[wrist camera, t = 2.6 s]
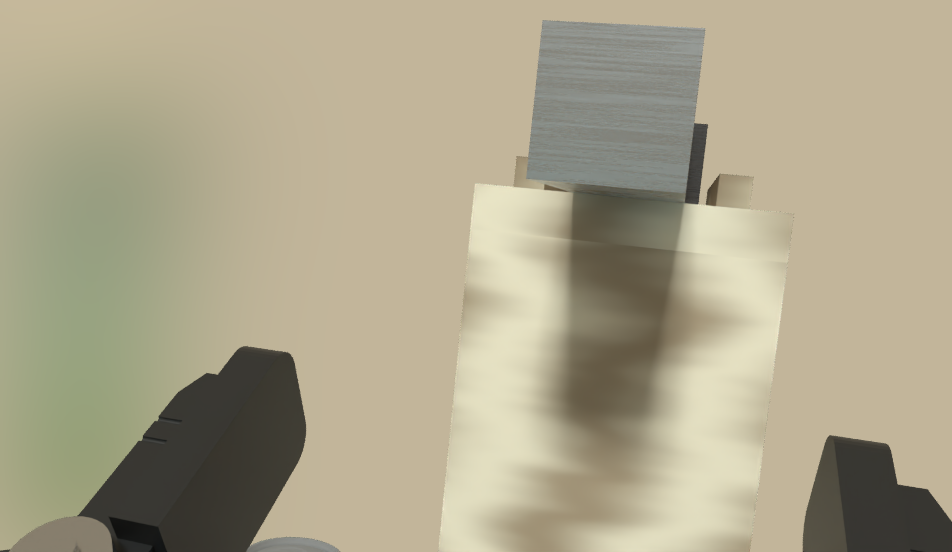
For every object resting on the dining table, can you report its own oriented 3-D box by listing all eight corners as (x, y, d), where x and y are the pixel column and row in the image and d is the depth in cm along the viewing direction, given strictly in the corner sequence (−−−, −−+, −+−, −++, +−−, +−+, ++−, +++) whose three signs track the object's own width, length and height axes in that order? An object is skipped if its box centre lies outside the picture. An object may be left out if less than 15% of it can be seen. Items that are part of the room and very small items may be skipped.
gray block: (695, 211, 40) (704, 135, 39) (712, 196, 18) (732, 29, 18) (596, 201, 41) (605, 127, 40) (502, 176, 19) (518, 19, 19)
